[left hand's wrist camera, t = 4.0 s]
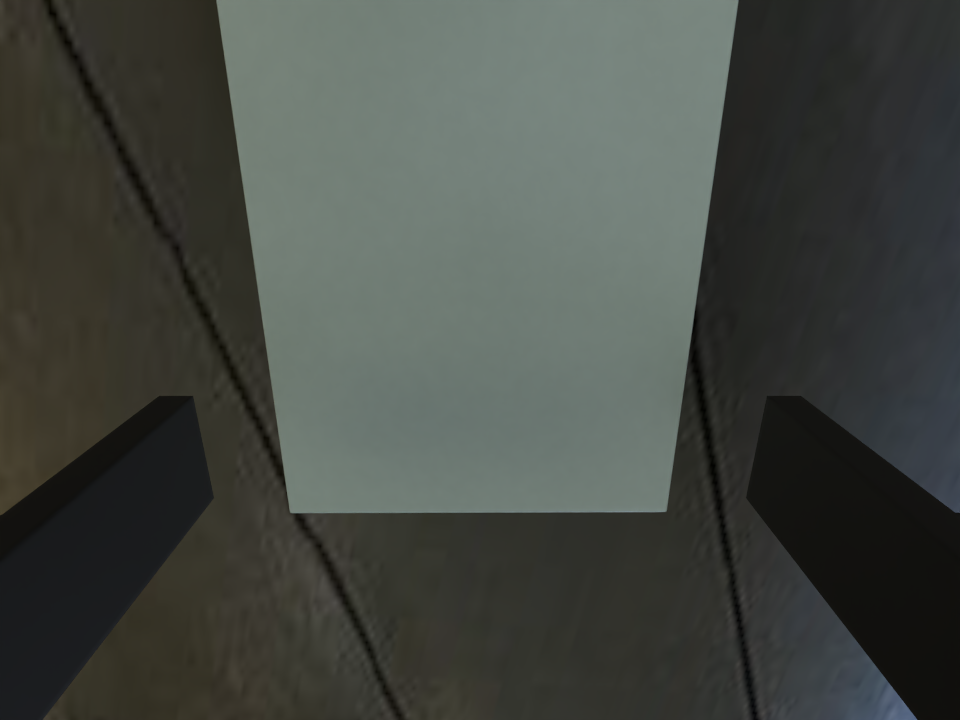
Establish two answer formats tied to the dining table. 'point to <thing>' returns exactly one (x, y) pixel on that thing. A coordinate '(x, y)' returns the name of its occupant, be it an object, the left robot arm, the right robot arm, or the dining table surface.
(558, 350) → the cabinet
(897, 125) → the dining table surface
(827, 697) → the dining table surface
